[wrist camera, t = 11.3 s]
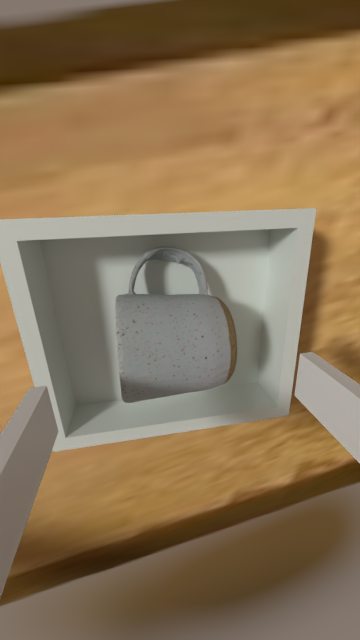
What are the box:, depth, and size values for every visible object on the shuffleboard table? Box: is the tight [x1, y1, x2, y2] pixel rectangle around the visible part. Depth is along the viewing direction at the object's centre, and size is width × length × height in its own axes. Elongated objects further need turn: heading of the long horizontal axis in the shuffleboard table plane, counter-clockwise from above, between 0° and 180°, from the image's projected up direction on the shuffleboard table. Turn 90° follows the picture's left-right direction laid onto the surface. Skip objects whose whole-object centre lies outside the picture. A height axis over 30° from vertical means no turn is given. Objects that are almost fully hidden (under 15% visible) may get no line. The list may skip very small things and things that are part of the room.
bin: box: [0, 208, 316, 452], centre depth 22 cm, size 20×17×5 cm
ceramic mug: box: [115, 247, 237, 403], centre depth 19 cm, size 11×8×8 cm
